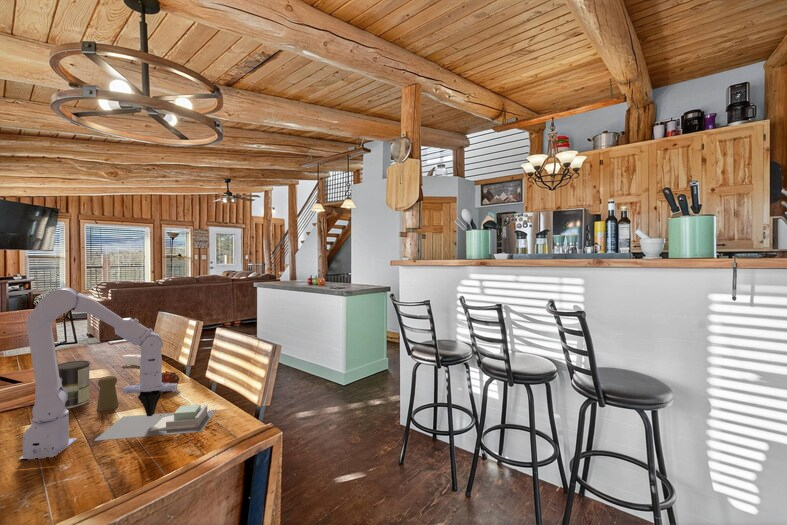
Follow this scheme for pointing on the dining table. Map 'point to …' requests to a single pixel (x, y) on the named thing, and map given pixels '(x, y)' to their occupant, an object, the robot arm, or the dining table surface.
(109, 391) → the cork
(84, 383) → the coffee can
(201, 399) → the dining table surface
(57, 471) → the dining table surface
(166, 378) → the dragon fruit
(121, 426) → the dock
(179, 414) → the cart
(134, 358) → the napkin holder
